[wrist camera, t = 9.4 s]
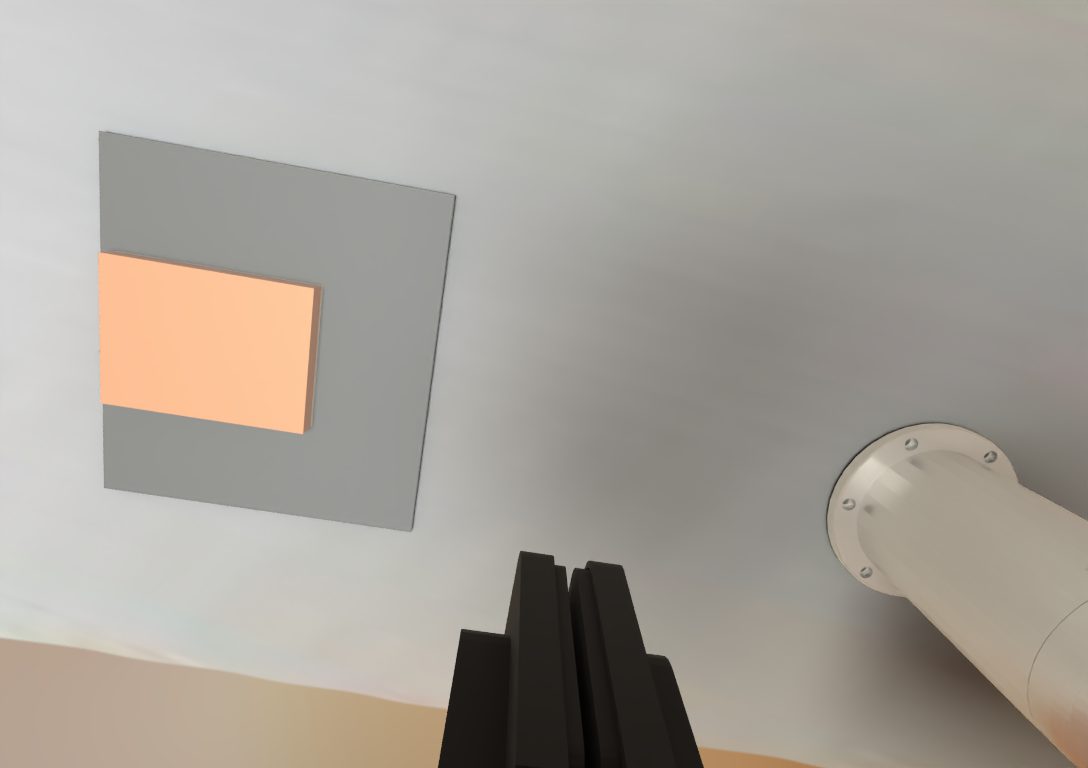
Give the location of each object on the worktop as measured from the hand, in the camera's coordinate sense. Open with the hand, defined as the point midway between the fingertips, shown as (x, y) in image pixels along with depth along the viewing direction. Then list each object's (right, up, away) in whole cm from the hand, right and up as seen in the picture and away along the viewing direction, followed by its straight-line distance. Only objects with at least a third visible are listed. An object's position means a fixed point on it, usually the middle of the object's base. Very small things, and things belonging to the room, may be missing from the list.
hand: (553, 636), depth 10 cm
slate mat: (-17, +6, +28) cm, 33 cm away
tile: (-14, +6, +27) cm, 31 cm away
